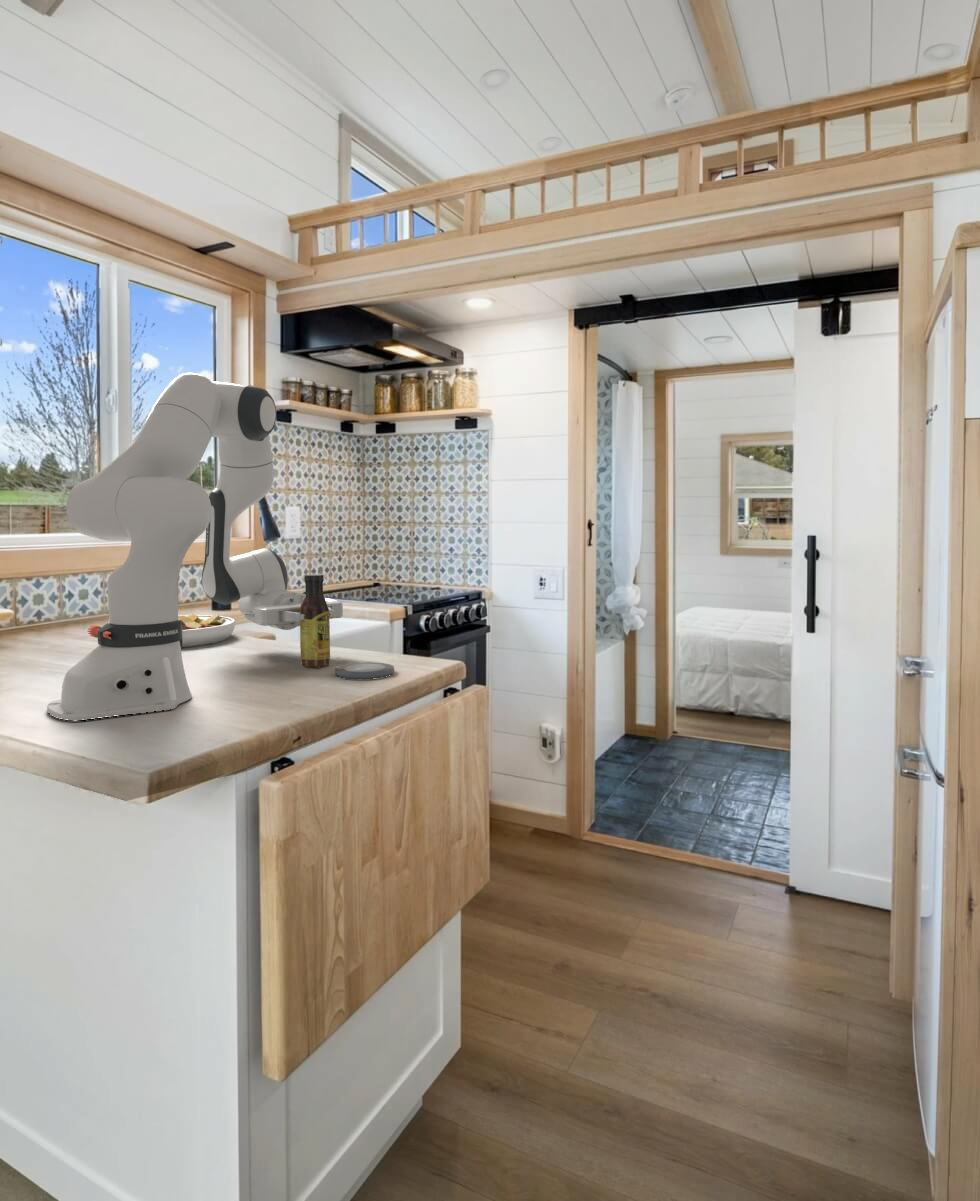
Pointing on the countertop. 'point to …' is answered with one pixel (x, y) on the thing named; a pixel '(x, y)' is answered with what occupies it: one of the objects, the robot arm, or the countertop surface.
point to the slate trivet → (364, 670)
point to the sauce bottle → (314, 624)
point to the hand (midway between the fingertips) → (317, 615)
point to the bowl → (205, 629)
